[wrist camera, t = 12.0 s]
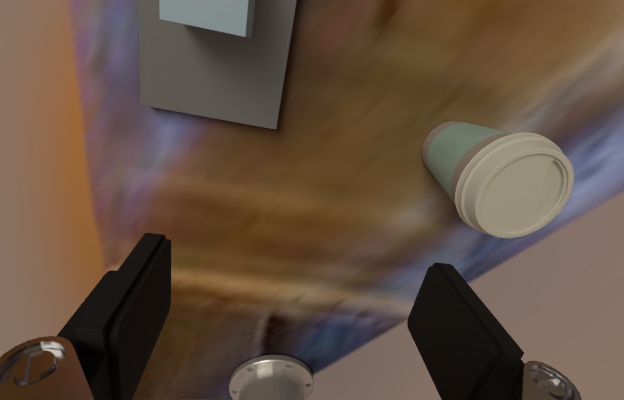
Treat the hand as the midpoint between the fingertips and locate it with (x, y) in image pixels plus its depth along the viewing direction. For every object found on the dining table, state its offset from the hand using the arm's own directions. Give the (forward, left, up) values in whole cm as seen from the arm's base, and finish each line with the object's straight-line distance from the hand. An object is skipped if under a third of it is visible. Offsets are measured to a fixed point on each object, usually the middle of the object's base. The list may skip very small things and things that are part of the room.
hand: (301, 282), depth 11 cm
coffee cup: (+6, -16, -23) cm, 29 cm away
